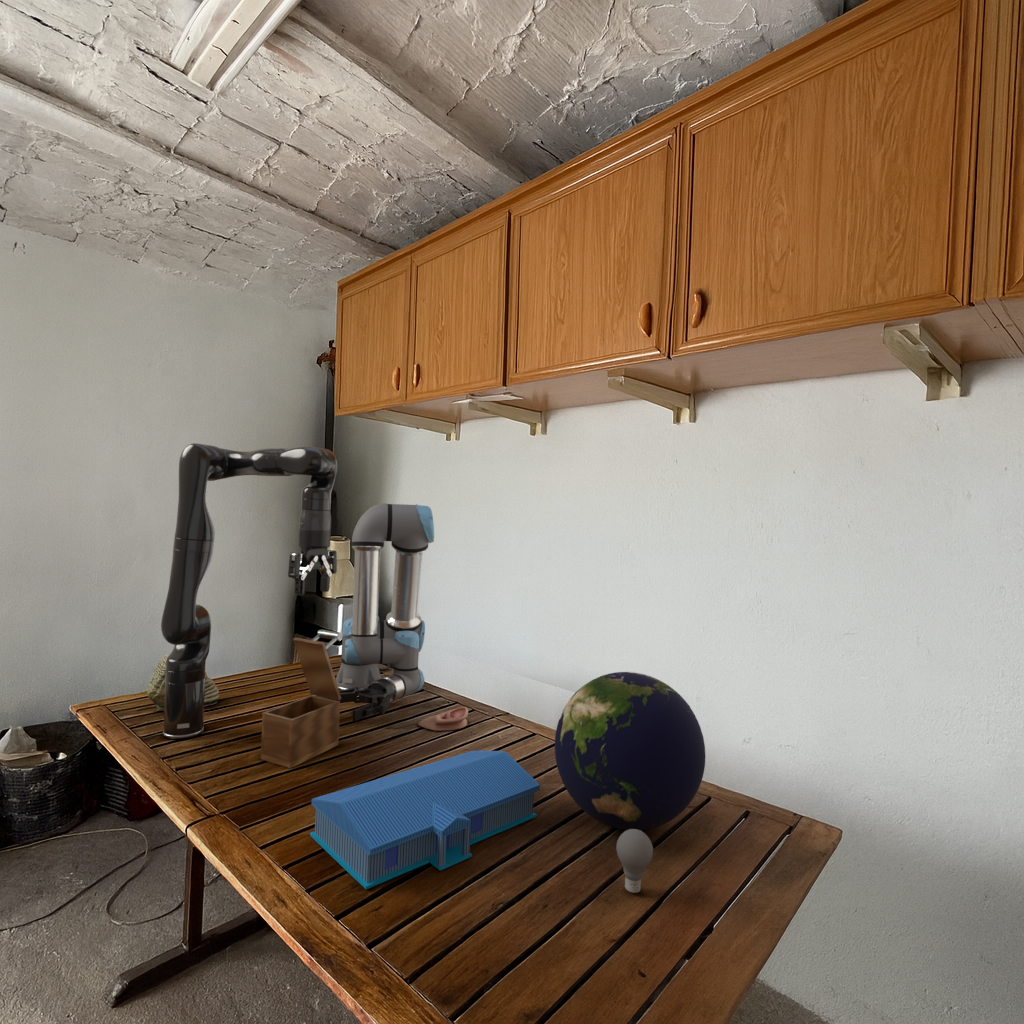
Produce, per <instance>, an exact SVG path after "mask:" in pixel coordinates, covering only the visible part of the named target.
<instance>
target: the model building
mask: <svg viewBox="0 0 1024 1024" xmlns="http://www.w3.org/2000/svg"><path fill="white" fill-rule="evenodd" d="M538 791H541V784H540V783H539V782H538V781H537V780H536V779H535V778H534V777H533V776H532V775H531V774H530V773H529V772H527V771H526V769H524V768H523V766H521V764H519V762H517V761H516V760H515V759H514V757H512V756H511V755H510V754H509V753H508V752H507V750H471V751H467V752H464V753H460V754H457V755H454V756H449V757H447V758H444V759H441V760H437V761H434V762H431V763H427V764H423V765H420V766H417V767H414V768H410V769H407V770H403V771H400V772H397V773H394V774H390V775H387V776H384V777H381V778H380V777H379V778H377V779H374V780H371V781H366V782H364V783H360V784H357V785H354V786H350V787H347V788H344V789H339V790H337V791H334V792H330V793H327V794H324V795H319V796H316V797H314V798H311V806H313V807H314V808H315V817H314V831H311V832H310V833H309V836H310V838H312V839H313V840H314V841H315V842H316V843H317V845H319V846H320V847H321V848H322V849H323V850H325V852H326V853H327V854H329V856H330V857H331V858H333V859H334V860H335V861H336V862H337V863H338V864H339V865H340V866H341V867H342V868H343V869H344V870H345V871H346V872H347V874H349V875H350V876H351V877H352V878H353V879H354V880H355V881H356V882H357V883H359V885H361V886H362V887H363V888H364V890H369V889H371V888H373V887H375V886H378V885H381V884H382V883H385V882H388V881H389V880H392V879H394V878H397V877H399V876H402V875H404V874H406V873H408V872H410V871H413V870H416V869H417V868H420V867H423V866H424V865H427V864H429V863H430V864H431V865H432V866H433V867H434V868H436V869H437V870H438V871H440V872H441V871H443V870H445V869H448V868H450V867H452V866H455V865H457V864H459V863H461V862H463V861H465V860H468V859H471V858H473V853H471V852H470V851H471V846H472V845H474V844H476V843H478V842H482V841H484V840H486V839H488V838H490V837H493V836H495V835H497V834H499V833H502V832H505V831H506V830H507V831H508V830H510V829H512V828H513V827H516V826H519V825H520V824H523V823H525V822H527V821H530V820H532V819H535V818H537V817H538V814H537V813H535V812H534V798H535V797H534V796H535V792H538Z"/></svg>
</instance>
